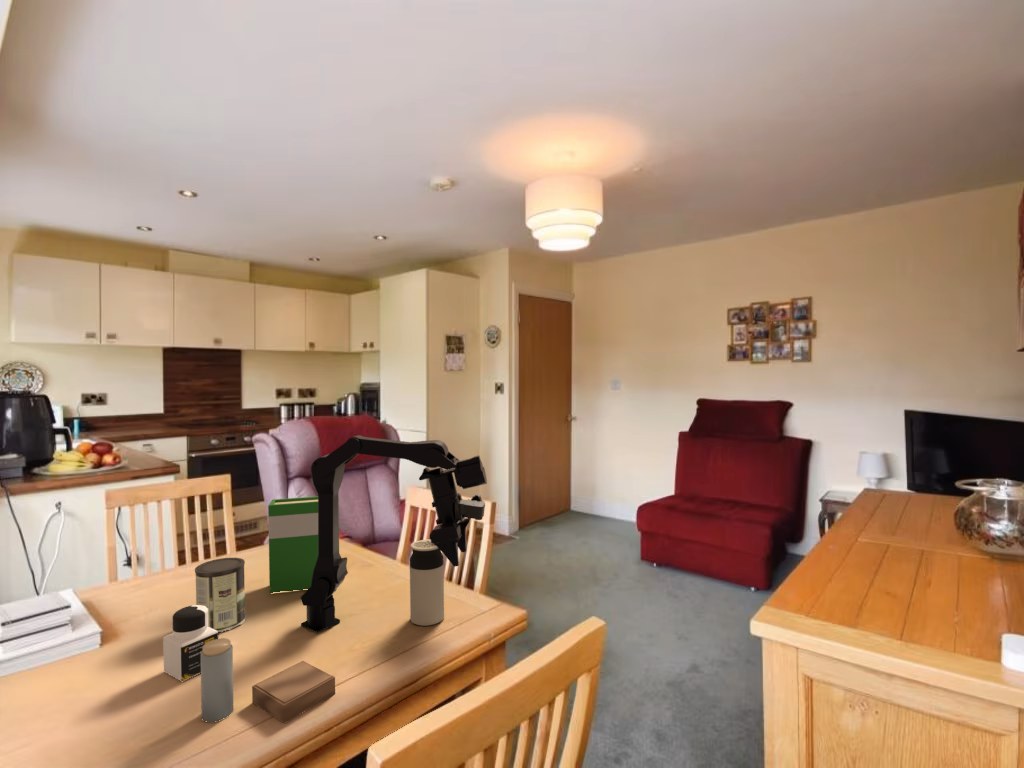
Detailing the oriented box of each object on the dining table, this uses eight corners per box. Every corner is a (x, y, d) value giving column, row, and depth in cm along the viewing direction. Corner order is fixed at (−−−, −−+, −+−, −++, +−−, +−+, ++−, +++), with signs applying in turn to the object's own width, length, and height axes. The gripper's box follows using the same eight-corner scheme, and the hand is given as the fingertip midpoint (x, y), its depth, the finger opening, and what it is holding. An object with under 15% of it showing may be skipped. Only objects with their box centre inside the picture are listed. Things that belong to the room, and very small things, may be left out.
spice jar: (196, 715, 90) (195, 646, 89) (225, 701, 93) (224, 634, 93) (209, 726, 87) (208, 654, 87) (238, 711, 91) (237, 642, 91)
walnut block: (252, 702, 93) (252, 685, 93) (303, 676, 101) (302, 659, 101) (284, 723, 87) (283, 704, 87) (335, 693, 95) (335, 676, 95)
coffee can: (226, 611, 130) (225, 554, 130) (255, 618, 126) (254, 560, 126) (185, 629, 121) (184, 568, 121) (215, 638, 117) (214, 575, 117)
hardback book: (339, 576, 152) (338, 494, 152) (338, 586, 145) (337, 500, 145) (273, 584, 147) (272, 499, 147) (269, 594, 140) (268, 505, 140)
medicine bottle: (181, 683, 99) (180, 620, 99) (163, 672, 103) (162, 611, 103) (219, 665, 105) (218, 606, 105) (200, 655, 109) (199, 598, 109)
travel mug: (437, 628, 120) (436, 550, 120) (405, 625, 122) (404, 548, 122) (448, 613, 128) (447, 539, 128) (418, 610, 130) (417, 538, 129)
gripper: (471, 496, 112) (488, 566, 112) (483, 478, 131) (498, 538, 131) (421, 507, 113) (438, 577, 113) (440, 487, 132) (455, 547, 132)
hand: (460, 558), depth 122 cm, fingers open, 9 cm apart
